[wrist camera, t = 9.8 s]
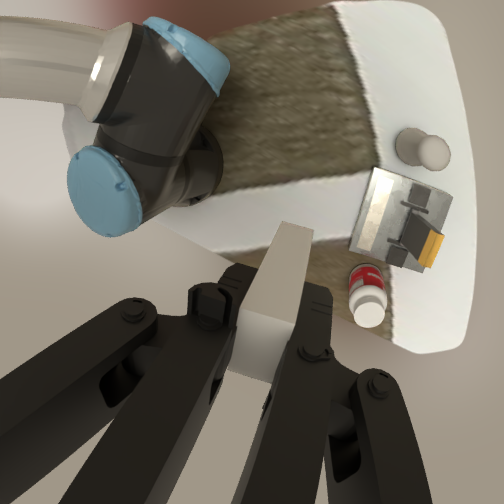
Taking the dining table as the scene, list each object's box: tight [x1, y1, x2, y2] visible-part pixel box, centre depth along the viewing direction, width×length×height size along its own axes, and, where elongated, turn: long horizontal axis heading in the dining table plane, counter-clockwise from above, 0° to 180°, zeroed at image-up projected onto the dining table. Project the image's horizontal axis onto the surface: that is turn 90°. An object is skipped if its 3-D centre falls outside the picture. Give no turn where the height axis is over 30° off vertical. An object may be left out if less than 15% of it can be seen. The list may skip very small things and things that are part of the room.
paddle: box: [399, 208, 444, 268], centre depth 36 cm, size 2×6×8 cm, turn 170°
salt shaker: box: [396, 128, 451, 171], centre depth 31 cm, size 6×6×13 cm
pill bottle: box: [349, 264, 387, 328], centre depth 43 cm, size 6×6×11 cm
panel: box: [349, 166, 453, 273], centre depth 41 cm, size 14×14×3 cm
